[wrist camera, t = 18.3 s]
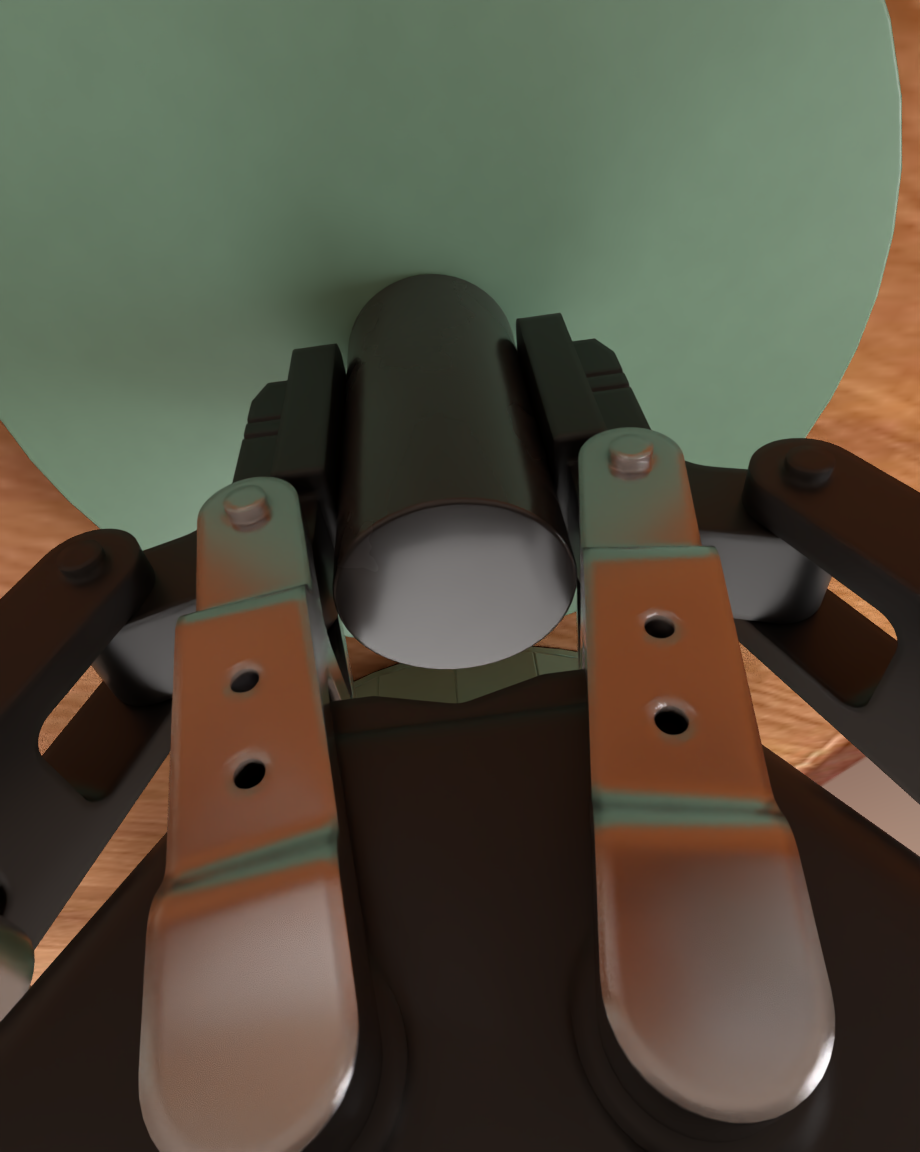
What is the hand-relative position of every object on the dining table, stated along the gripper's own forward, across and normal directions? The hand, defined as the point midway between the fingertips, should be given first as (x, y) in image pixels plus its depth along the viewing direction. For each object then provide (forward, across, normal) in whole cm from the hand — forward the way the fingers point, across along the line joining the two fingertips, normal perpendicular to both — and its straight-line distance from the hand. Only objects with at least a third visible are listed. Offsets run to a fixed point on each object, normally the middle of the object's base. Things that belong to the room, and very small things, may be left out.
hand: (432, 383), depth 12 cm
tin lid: (+2, 0, 0) cm, 2 cm away
